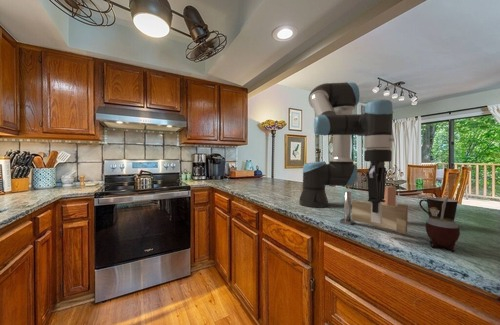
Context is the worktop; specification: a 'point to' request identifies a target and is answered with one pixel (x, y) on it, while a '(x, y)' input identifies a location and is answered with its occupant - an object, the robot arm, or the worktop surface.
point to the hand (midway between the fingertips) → (376, 222)
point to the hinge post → (347, 209)
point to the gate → (390, 215)
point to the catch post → (390, 196)
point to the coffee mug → (440, 207)
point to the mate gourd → (442, 231)
